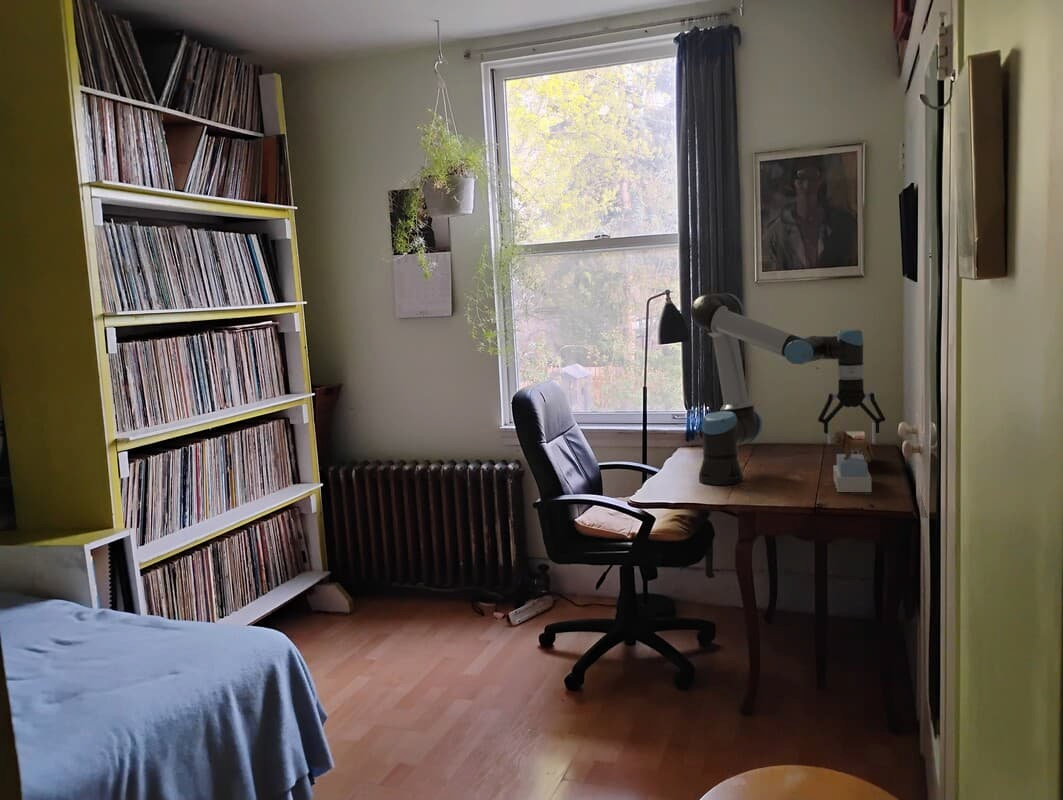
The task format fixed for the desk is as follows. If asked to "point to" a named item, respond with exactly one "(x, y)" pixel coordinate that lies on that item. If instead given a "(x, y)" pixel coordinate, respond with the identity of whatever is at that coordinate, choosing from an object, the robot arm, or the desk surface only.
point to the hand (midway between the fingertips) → (851, 443)
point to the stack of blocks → (857, 436)
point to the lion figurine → (852, 445)
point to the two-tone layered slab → (852, 474)
